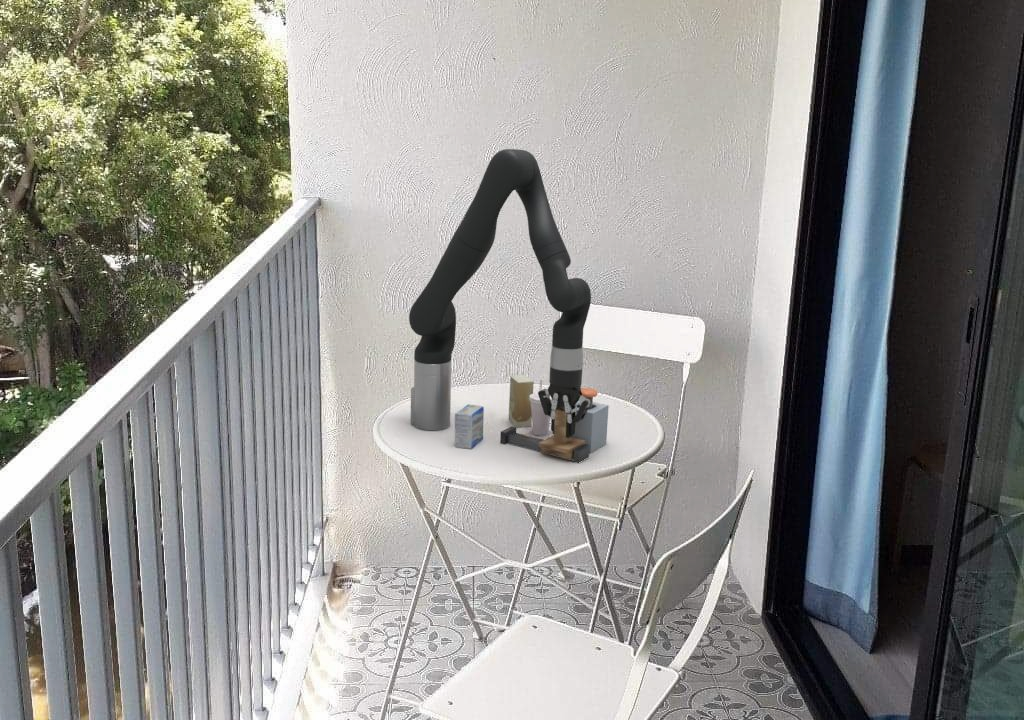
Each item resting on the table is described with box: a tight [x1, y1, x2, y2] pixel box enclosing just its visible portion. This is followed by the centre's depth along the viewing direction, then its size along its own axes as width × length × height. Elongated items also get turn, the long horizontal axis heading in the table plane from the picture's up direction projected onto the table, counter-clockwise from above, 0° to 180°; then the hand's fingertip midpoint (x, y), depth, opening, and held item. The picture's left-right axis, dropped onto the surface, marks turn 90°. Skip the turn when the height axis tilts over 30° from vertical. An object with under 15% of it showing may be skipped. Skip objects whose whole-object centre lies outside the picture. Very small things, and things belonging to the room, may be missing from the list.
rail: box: [499, 425, 590, 464], centre depth 240 cm, size 22×5×3 cm, turn 57°
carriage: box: [539, 407, 585, 461], centre depth 236 cm, size 8×8×11 cm
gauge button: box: [581, 387, 598, 410], centre depth 242 cm, size 5×5×7 cm
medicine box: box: [454, 404, 485, 450], centre depth 242 cm, size 8×4×9 cm, turn 160°
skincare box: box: [507, 374, 534, 428], centre depth 257 cm, size 6×4×12 cm
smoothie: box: [529, 378, 553, 437], centre depth 250 cm, size 6×6×14 cm
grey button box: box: [572, 400, 610, 454], centre depth 243 cm, size 8×8×10 cm
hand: (562, 434), depth 236 cm, fingers closed on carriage, 3 cm apart
